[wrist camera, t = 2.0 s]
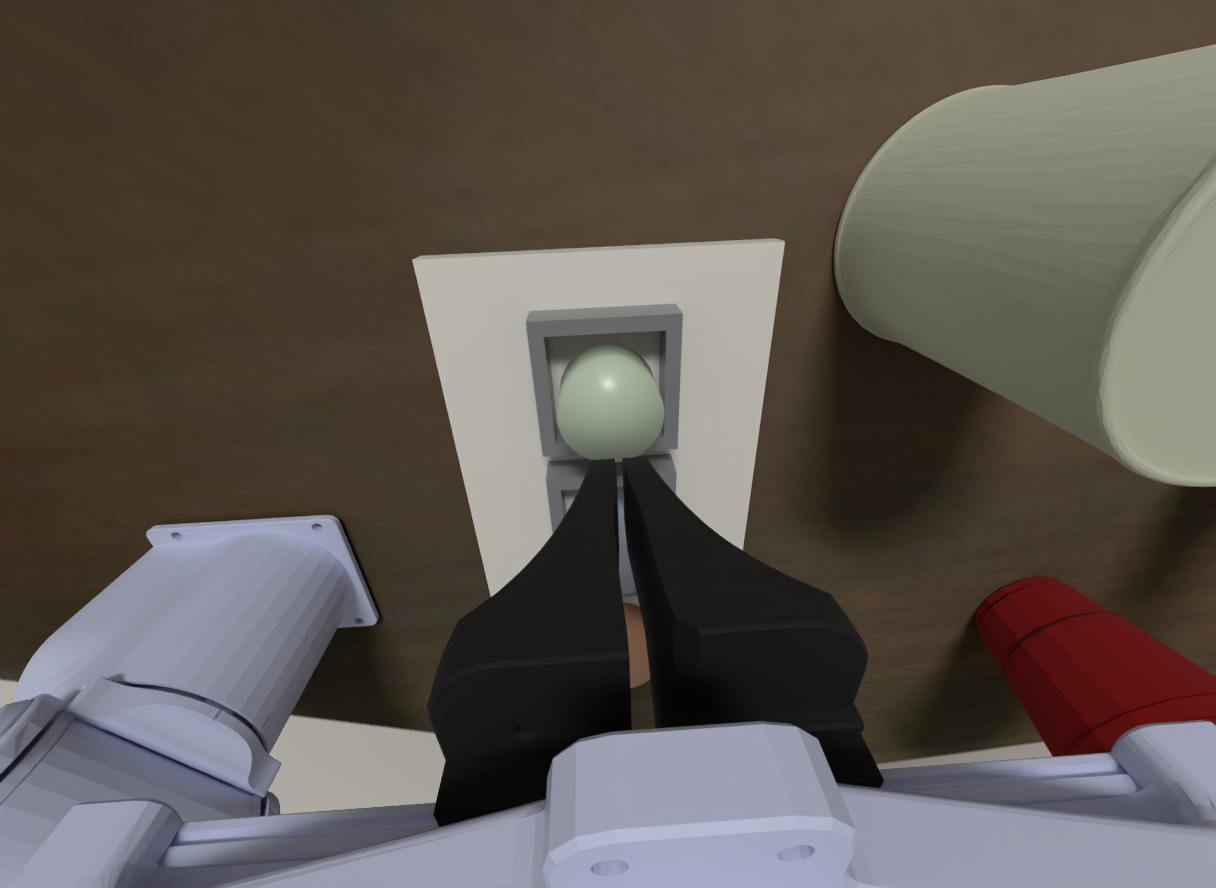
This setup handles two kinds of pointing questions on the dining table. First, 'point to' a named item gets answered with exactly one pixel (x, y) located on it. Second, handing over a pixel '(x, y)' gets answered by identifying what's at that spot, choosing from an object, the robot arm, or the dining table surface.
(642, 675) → the peach button
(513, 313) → the console
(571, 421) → the sage button
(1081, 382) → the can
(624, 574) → the slate button
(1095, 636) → the plastic cup
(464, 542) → the dining table surface
